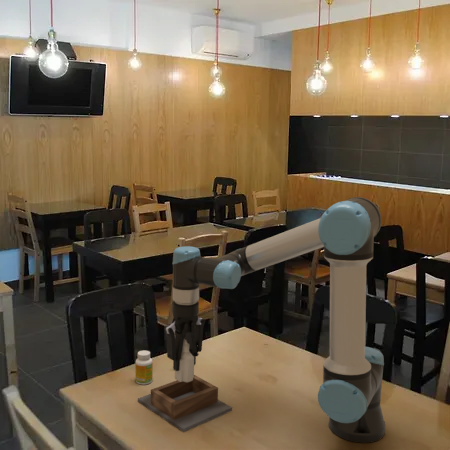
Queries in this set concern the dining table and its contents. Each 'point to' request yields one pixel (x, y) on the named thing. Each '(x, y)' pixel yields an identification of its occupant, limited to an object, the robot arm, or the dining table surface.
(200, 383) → the bottle holder
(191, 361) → the eye dropper bottle
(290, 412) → the dining table surface
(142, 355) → the supplement bottle
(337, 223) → the robot arm
